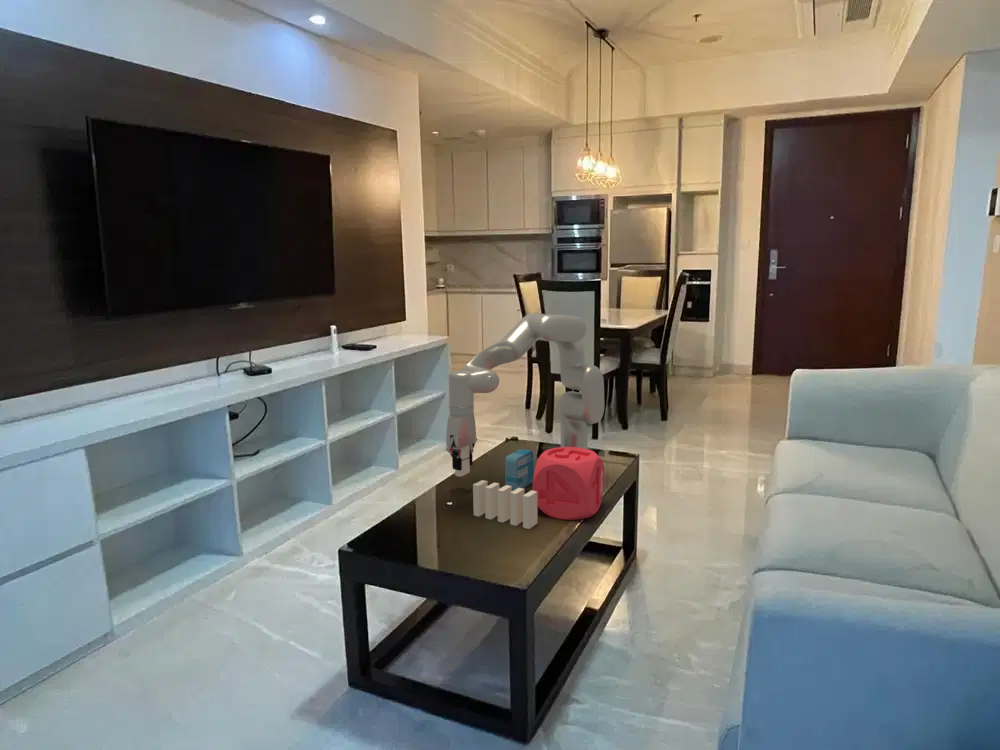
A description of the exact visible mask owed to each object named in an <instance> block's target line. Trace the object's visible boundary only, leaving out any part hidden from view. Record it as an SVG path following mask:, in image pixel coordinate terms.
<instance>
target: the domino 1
mask: <svg viewBox="0 0 1000 750" xmlns="http://www.w3.org/2000/svg"><path fill="white" fill-rule="evenodd" d="M455 447H456V445H455ZM455 451H456V452H457V451H458V450H456V449H455ZM469 454H470V448H469V445H468V446H466V447H464V448H461V455H460V458H462V470H455V469H454V476H455V477H463V476H465V475H467V474H470V473H471V466H470V460H469Z"/></svg>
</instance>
